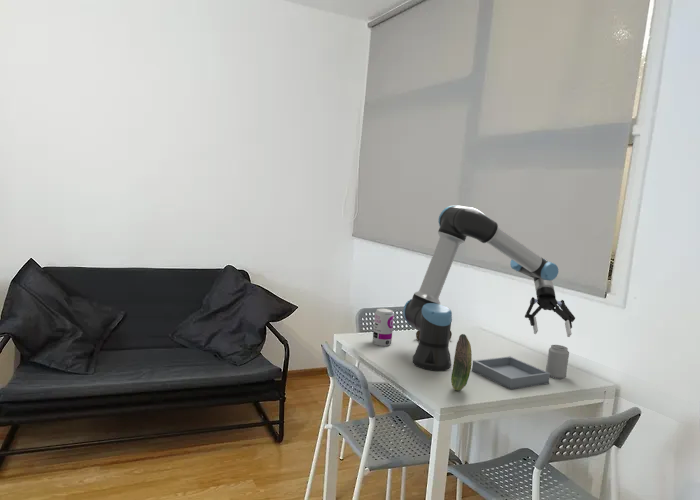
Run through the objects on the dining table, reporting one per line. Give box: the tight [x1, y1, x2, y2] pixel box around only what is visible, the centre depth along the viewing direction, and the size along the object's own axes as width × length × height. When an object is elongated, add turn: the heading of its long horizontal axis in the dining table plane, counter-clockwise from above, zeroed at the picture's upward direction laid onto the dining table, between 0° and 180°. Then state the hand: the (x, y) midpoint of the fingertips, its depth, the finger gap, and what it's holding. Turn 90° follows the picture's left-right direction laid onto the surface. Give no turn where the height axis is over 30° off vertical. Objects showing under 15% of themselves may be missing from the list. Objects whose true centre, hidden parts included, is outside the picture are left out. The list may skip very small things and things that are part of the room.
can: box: [545, 344, 570, 380], centre depth 203 cm, size 8×8×12 cm
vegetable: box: [450, 333, 473, 392], centre depth 179 cm, size 6×6×20 cm
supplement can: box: [372, 307, 395, 347], centre depth 227 cm, size 8×8×15 cm
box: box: [471, 355, 551, 390], centre depth 198 cm, size 20×20×4 cm
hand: (552, 333), depth 212 cm, fingers open, 13 cm apart
